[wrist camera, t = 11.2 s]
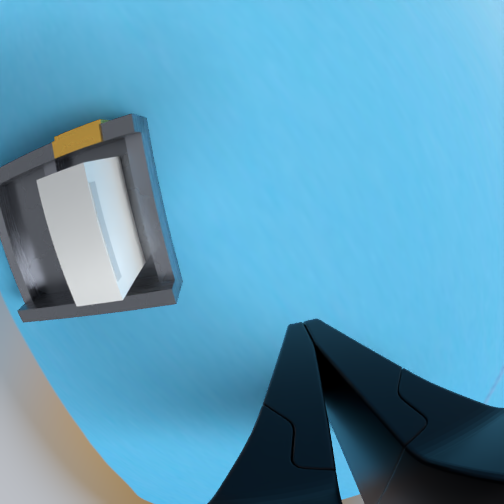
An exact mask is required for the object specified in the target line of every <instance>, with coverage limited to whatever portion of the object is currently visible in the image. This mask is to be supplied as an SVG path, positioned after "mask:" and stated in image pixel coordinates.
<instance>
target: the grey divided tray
mask: <svg viewBox="0 0 504 504" xmlns="http://www.w3.org/2000/svg"><path fill="white" fill-rule="evenodd" d="M54 139H55V141H53V142H52V143H50V144H47V145H45V146H43V147H41V148H38V149H36V150H34V151H32V152H30V153H28V154H26V155H24V156H22V157H20V158H18V159H16V160H14V161H12V162H10V163H8V164H6V165H4V166H2V167H0V238H1V242H2V245H3V248H4V251H5V254H6V257H7V260H8V262H9V265H10V268H11V271H12V273H13V276H14V278H15V281H16V283H17V286H18V288H19V291H20V293H21V295H22V298H23V300H24V302H25V304H24V305H23V306H22V307H21V308H20V309H19V310H18V313H19V315H20V317H21V319H22V321H23V322H32V321H43V320H53V319H62V318H72V317H81V316H89V315H98V314H106V313H114V312H122V311H129V310H137V309H144V308H151V307H158V306H165V305H172V304H176V303H177V300H178V296H179V293H180V289H181V286H182V282H183V281H182V277H181V273H180V270H179V266H178V262H177V258H176V255H175V251H174V247H173V243H172V239H171V235H170V231H169V227H168V222H167V218H166V214H165V210H164V205H163V201H162V196H161V192H160V187H159V182H158V177H157V172H156V168H155V162H154V157H153V152H152V147H151V141H150V136H149V130H148V124H147V118H145V117H141V116H138V115H134V114H129V115H126V116H123V117H120V118H116V119H113V120H103V119H99V120H96V121H94V122H91V123H88V124H85V125H83V126H80V127H77V128H75V129H72V130H70V131H67V132H65V133H63V134H60V135H58V136H55V137H54ZM117 156H120V160H121V165H122V170H123V175H124V179H125V184H126V189H127V193H128V197H129V201H130V206H131V210H132V214H133V218H134V222H135V226H136V229H137V233H138V237H139V240H140V244H141V248H142V251H143V255H144V258H145V261H146V263H145V264H144V266H143V267H142V269H141V271H140V272H139V274H138V276H137V277H136V279H135V281H134V282H133V284H132V286H131V287H130V289H129V291H128V292H127V294H126V296H125V297H124V299H123V300H121V301H114V302H107V303H99V304H92V305H85V306H76V304H75V301H74V299H73V296H72V294H71V292H70V289H69V287H68V284H67V281H66V279H65V276H64V273H63V271H62V268H61V265H60V262H59V260H58V257H57V254H56V251H55V248H54V245H53V241H52V238H51V235H50V232H49V228H48V225H47V221H46V218H45V214H44V210H43V206H42V202H41V198H40V194H39V190H38V186H37V181H36V180H38V179H41V178H43V177H46V176H48V175H51V174H53V173H56V172H59V171H61V170H64V169H67V168H70V167H72V166H75V165H78V164H81V163H84V162H89V161H94V160H100V159H105V158H111V157H117Z"/></svg>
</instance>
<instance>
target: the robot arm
mask: <svg viewBox="0 0 504 504" xmlns="http://www.w3.org/2000/svg"><path fill="white" fill-rule="evenodd" d="M328 418H329V421H330V423H331V425H332V428H333V430H334V432H335V435H336V437H337V439H338V442H339V444H340V447H341V449H342V451H343V454H344V456H345V458H346V461H347V463H348V465H349V468H350V470H351V473H352V475H353V477H354V480H355V482H356V484H357V487H358V489H359V492H360V494H361V496H362V499H363V501H364V503H365V504H504V408H498V407H492V406H489V405H486V404H483V403H480V402H478V401H475V400H472V399H470V398H467V397H465V396H462V395H460V394H457V393H454V392H452V391H449V390H447V389H445V388H442V387H440V386H438V385H435V384H433V383H431V382H429V381H427V380H425V379H423V378H421V377H419V376H417V375H415V374H413V373H412V372H410V371H408V370H406V369H404V368H403V369H402V367H401V366H399V365H397V364H395V363H394V362H392V361H390V360H388V359H386V358H385V357H383V356H381V355H379V354H378V353H376V352H374V351H372V350H371V349H369V348H367V347H365V346H364V345H362V344H360V343H359V342H357V341H355V340H353V339H352V338H350V337H348V336H346V335H345V334H343V333H341V332H340V331H338V330H336V329H334V328H333V327H331V326H329V325H328V324H326V323H324V322H323V321H321V320H319V319H313V320H308V321H305V322H304V323H302V322H299V323H294V324H290V325H289V326H288V328H287V331H286V334H285V338H284V341H283V344H282V347H281V350H280V354H279V357H278V360H277V363H276V366H275V369H274V372H273V375H272V378H271V381H270V384H269V387H268V390H267V393H266V396H265V399H264V402H263V406H262V407H261V410H260V413H259V415H258V418H257V421H256V423H255V425H254V428H253V430H252V433H251V435H250V437H249V439H248V441H247V442H246V444H245V446H244V448H243V450H242V452H241V453H240V455H239V457H238V459H237V460H236V462H235V464H234V465H233V467H232V468H231V470H230V472H229V473H228V475H227V477H226V478H225V480H224V481H223V483H222V485H221V486H220V488H219V489H218V491H217V492H216V494H215V495H214V497H213V498H212V499H211V500H210V501H209V503H208V504H342V501H341V497H340V492H339V487H338V481H337V475H336V467H335V460H334V454H333V447H332V441H331V434H330V428H329V422H328Z"/></svg>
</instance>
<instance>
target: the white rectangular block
mask: <svg viewBox="0 0 504 504" xmlns="http://www.w3.org/2000/svg"><path fill="white" fill-rule="evenodd" d="M36 181H37V186H38V190H39V194H40V198H41V202H42V206H43V210H44V214H45V218H46V221H47V225H48V228H49V232H50V235H51V238H52V241H53V245H54V248H55V251H56V254H57V257H58V260H59V262H60V265H61V268H62V271H63V273H64V276H65V279H66V281H67V284H68V287H69V289H70V292H71V294H72V296H73V299H74V301H75V304H76V306H85V305H92V304H99V303H107V302H114V301H121V300H123V299H124V297H125V296H126V294H127V292H128V291H129V289H130V287H131V286H132V284H133V282H134V281H135V279H136V277H137V276H138V274H139V272H140V271H141V269H142V267H143V266H144V264H145V263H146V261H145V258H144V255H143V251H142V248H141V244H140V240H139V237H138V233H137V229H136V226H135V222H134V218H133V214H132V210H131V206H130V201H129V197H128V193H127V189H126V184H125V179H124V175H123V170H122V165H121V160H120V156H117V157H111V158H105V159H100V160H94V161H89V162H84V163H81V164H78V165H75V166H72V167H70V168H67V169H64V170H61V171H59V172H56V173H53V174H51V175H48V176H46V177H43V178H41V179H38V180H36Z"/></svg>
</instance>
